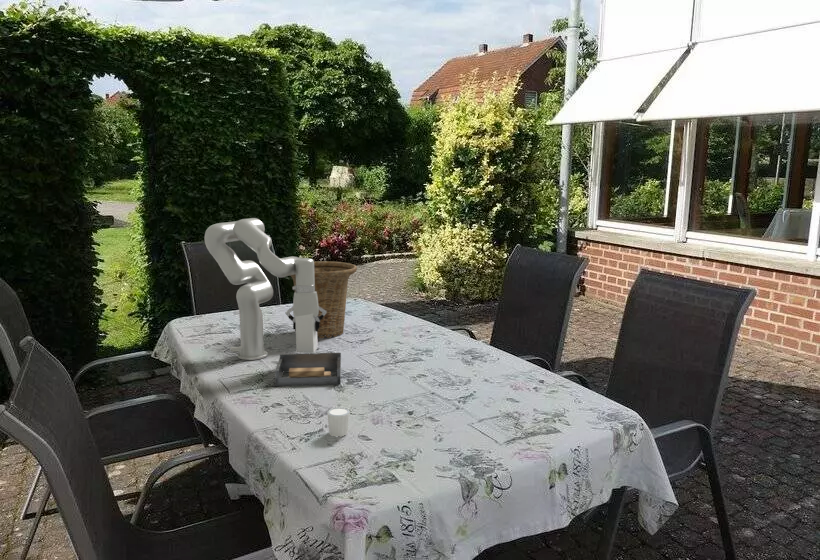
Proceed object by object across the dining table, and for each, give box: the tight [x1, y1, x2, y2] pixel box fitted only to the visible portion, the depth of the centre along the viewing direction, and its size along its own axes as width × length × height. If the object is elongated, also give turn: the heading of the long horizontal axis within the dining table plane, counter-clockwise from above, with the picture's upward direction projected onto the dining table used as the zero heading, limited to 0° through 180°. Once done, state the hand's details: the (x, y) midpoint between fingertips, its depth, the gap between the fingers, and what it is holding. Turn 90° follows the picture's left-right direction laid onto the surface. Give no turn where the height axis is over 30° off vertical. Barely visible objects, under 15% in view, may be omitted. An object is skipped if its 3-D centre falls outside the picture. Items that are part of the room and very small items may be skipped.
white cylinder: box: [326, 407, 351, 437], centre depth 190 cm, size 7×7×7 cm
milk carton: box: [295, 314, 319, 354], centre depth 255 cm, size 7×7×19 cm
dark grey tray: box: [274, 352, 342, 387], centre depth 241 cm, size 24×18×7 cm
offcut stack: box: [288, 367, 332, 377], centre depth 235 cm, size 16×5×5 cm, turn 95°
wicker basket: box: [290, 260, 358, 339], centre depth 304 cm, size 35×35×33 cm
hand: (306, 330), depth 255 cm, fingers closed on milk carton, 8 cm apart
